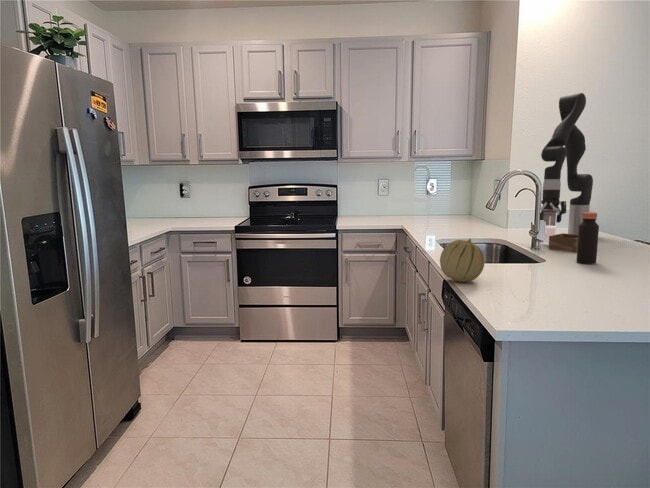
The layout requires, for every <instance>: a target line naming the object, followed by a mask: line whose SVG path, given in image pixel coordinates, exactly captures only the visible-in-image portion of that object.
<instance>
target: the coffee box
mask: <svg viewBox="0 0 650 488" xmlns="http://www.w3.org/2000/svg"><path fill="white" fill-rule="evenodd" d="M550 216H551V219H550V226H556V220H557V213H556V212H555V211H554V210H550V209H546V210H545V211H544V212H543V220H544V221H545V222H546V226H549V218H550Z"/></svg>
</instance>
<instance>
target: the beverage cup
mask: <svg viewBox="0 0 650 488" xmlns="http://www.w3.org/2000/svg"><path fill="white" fill-rule="evenodd" d="M550 219H551V216H550V218H549V226H546V227H545V235H546V239H545V240H544V241H543V242H542V243H543V245H546V246H549V236H552V235H556V229H557V226H556V225H555V226H550Z"/></svg>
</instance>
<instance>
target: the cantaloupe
mask: <svg viewBox="0 0 650 488" xmlns="http://www.w3.org/2000/svg"><path fill="white" fill-rule="evenodd" d="M484 255H485V254H484V253H483V251H482V249H481V247H479V246H478V245H477V244H475V243H474V242H472V239H471V238H468V240H465V239H456V240H454V241H451V242H449V243H448V244H447V245H446V246H445V247H444V248H443V249H442V251H441V253H440V257H439V264H440V269H441V271H442V273H443V274H444V275H445V277H448V278H449V279H451V280H453V281H454V282H457V283H468V282H472V281H474V280H476V279H477V278H478V277H479V276H480V275H481V274H482V272H483V270H484V267H485V256H484Z"/></svg>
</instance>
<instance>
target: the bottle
mask: <svg viewBox="0 0 650 488" xmlns="http://www.w3.org/2000/svg"><path fill="white" fill-rule="evenodd" d="M582 218H583V222H582V223H581V224H580V225H579V232H578V246H577V252H576V259H575V261H576V262H577V263H578V264H583V265H594V264H596V263H597V256H598V255H597V254H598V246H599V245H598V243H599V232H600V231H599V230H600V226H599V224H598V223H597V222H596V221H597V218H598V213H597V212H592V211H589V212H583V214H582Z"/></svg>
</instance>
